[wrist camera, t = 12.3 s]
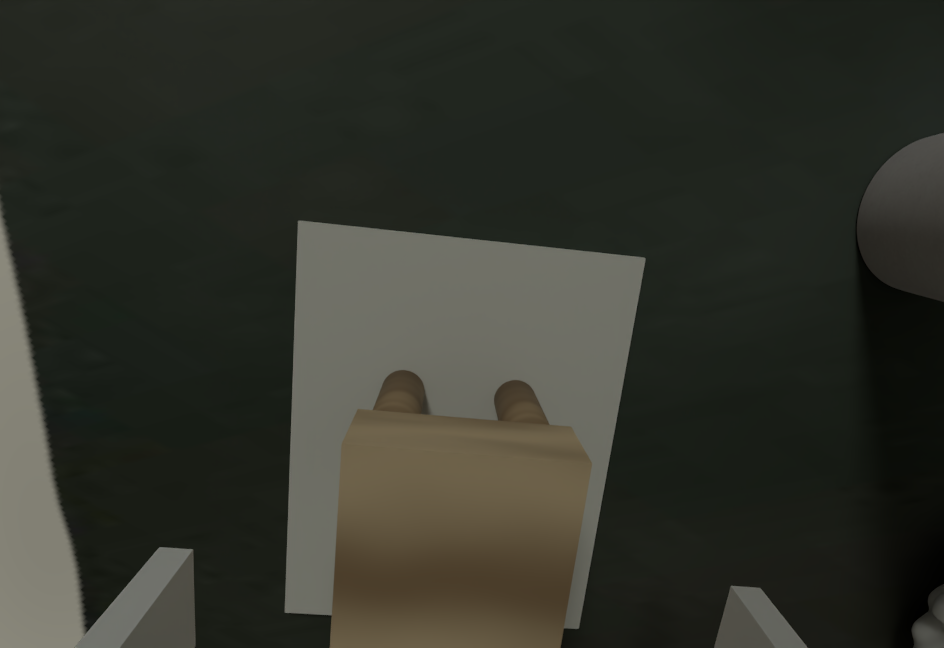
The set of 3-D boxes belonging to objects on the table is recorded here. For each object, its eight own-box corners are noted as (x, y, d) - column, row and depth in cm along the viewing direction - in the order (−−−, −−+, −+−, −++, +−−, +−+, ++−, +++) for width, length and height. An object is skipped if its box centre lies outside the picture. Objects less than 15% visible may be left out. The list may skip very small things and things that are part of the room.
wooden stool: (378, 363, 21) (341, 443, 14) (543, 377, 21) (592, 463, 14) (368, 512, 22) (329, 657, 15) (522, 523, 23) (556, 668, 16)
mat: (301, 220, 20) (298, 220, 20) (641, 257, 21) (645, 258, 21) (287, 605, 24) (284, 612, 23) (576, 622, 25) (578, 628, 24)
